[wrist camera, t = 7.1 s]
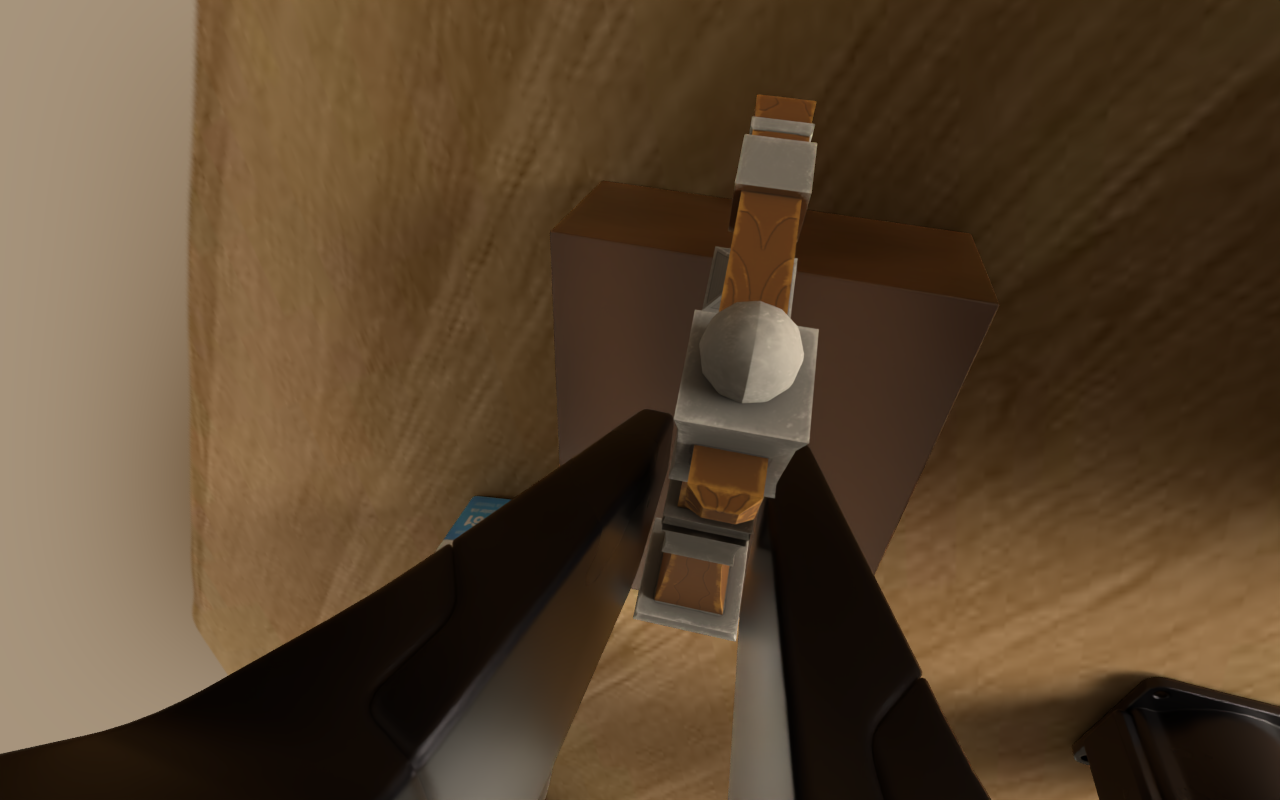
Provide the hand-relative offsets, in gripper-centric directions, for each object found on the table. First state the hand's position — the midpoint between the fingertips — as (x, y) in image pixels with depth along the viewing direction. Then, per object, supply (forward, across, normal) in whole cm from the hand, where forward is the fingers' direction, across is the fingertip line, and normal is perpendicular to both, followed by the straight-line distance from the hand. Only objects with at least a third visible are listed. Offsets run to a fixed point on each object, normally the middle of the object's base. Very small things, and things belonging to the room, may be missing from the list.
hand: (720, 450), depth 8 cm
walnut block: (+11, 0, +7) cm, 13 cm away
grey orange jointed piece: (+2, 0, 0) cm, 2 cm away
